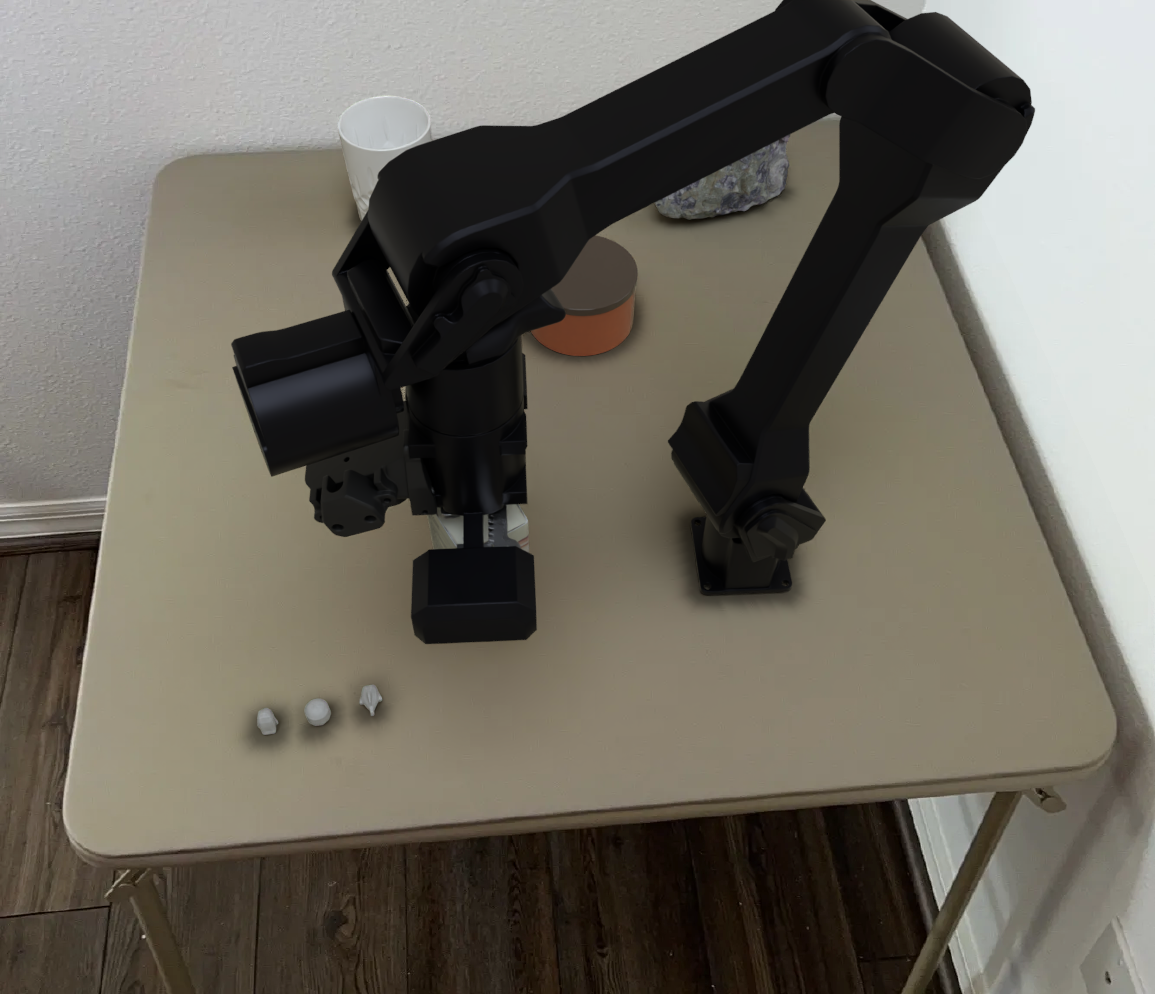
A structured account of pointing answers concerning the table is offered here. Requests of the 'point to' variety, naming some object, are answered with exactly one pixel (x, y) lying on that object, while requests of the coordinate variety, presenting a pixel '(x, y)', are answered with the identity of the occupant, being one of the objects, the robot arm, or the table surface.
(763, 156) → the mineral rock
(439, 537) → the cream cardboard box
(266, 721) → the game pieces
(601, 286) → the jar
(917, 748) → the table surface
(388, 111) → the white cup
